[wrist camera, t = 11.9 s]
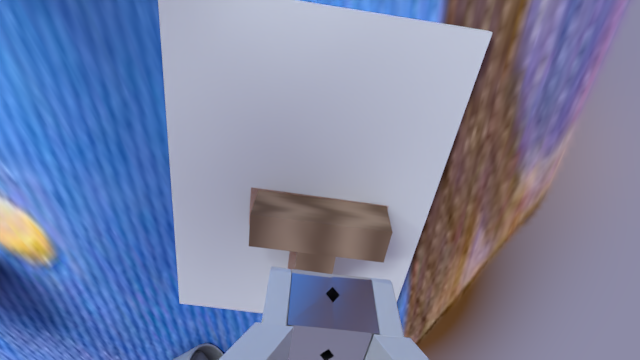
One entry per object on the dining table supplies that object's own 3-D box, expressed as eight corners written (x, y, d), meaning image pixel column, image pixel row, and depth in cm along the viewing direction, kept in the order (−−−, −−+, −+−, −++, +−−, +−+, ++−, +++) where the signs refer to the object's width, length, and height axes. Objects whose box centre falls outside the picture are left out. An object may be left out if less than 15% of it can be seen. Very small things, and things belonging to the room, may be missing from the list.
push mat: (182, 297, 49) (179, 303, 48) (161, -22, 30) (156, -22, 30) (386, 321, 51) (387, 327, 50) (488, 30, 32) (492, 32, 31)
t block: (252, 283, 46) (245, 312, 42) (258, 190, 39) (250, 214, 35) (361, 296, 47) (364, 326, 43) (386, 206, 40) (392, 232, 36)
